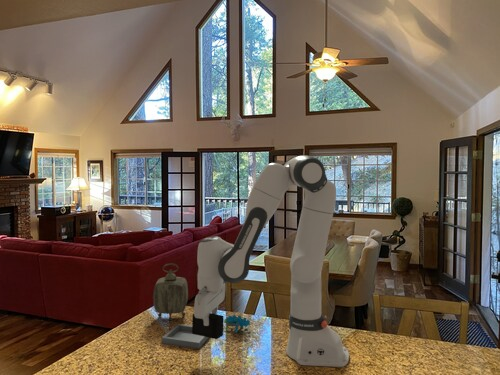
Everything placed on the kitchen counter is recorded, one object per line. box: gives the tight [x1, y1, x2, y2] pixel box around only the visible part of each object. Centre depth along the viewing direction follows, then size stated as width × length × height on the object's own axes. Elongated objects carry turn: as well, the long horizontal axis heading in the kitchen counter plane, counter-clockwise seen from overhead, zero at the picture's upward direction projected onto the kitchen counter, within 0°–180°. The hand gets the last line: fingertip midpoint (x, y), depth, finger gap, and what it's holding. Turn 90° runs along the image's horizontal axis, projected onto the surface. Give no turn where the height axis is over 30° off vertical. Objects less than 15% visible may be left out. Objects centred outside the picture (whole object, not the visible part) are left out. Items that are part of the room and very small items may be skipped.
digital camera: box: [191, 312, 225, 340], centre depth 133 cm, size 10×5×7 cm, turn 63°
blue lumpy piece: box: [223, 314, 251, 334], centre depth 155 cm, size 11×6×10 cm
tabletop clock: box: [152, 262, 189, 322], centre depth 168 cm, size 14×9×25 cm, turn 94°
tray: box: [161, 323, 210, 350], centre depth 148 cm, size 15×13×2 cm
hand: (210, 321), depth 133 cm, fingers closed on digital camera, 5 cm apart
